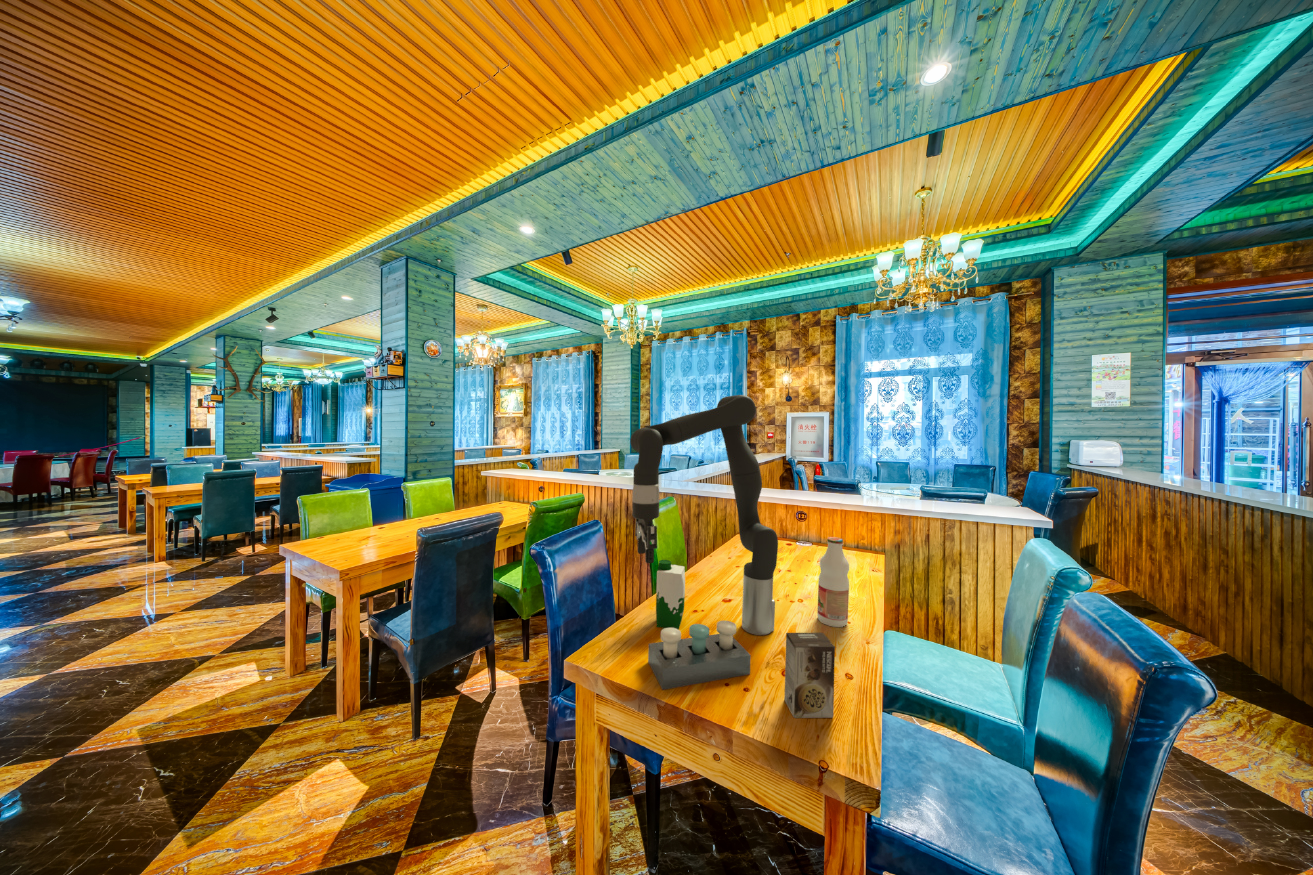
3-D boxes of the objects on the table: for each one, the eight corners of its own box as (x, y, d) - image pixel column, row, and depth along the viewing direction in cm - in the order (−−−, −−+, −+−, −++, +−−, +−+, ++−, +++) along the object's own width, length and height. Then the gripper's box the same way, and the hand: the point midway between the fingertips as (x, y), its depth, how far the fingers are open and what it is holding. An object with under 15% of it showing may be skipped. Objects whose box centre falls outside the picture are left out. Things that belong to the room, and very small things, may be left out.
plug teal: (703, 644, 109) (704, 622, 109) (711, 655, 104) (712, 632, 104) (685, 647, 108) (686, 625, 108) (693, 657, 103) (694, 634, 103)
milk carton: (658, 615, 135) (660, 556, 135) (685, 619, 134) (687, 559, 133) (653, 628, 127) (655, 565, 127) (681, 631, 125) (683, 568, 125)
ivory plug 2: (729, 640, 112) (730, 619, 112) (739, 650, 107) (739, 628, 107) (712, 643, 110) (713, 621, 110) (721, 653, 105) (722, 630, 105)
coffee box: (821, 699, 95) (823, 631, 95) (834, 718, 89) (836, 646, 88) (783, 699, 95) (785, 631, 95) (793, 718, 88) (795, 646, 88)
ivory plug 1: (676, 648, 107) (676, 626, 107) (683, 659, 102) (684, 636, 102) (657, 651, 105) (658, 628, 105) (663, 662, 100) (664, 638, 100)
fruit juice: (839, 630, 129) (842, 544, 128) (811, 619, 136) (814, 537, 136) (852, 622, 135) (855, 539, 134) (825, 612, 142) (828, 533, 142)
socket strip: (727, 649, 116) (728, 632, 115) (749, 674, 104) (750, 655, 104) (648, 662, 108) (648, 643, 108) (662, 689, 97) (663, 669, 97)
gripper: (666, 504, 106) (666, 565, 106) (651, 495, 120) (651, 549, 120) (639, 505, 104) (638, 567, 104) (627, 496, 118) (626, 551, 118)
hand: (645, 557), depth 112 cm, fingers open, 8 cm apart
